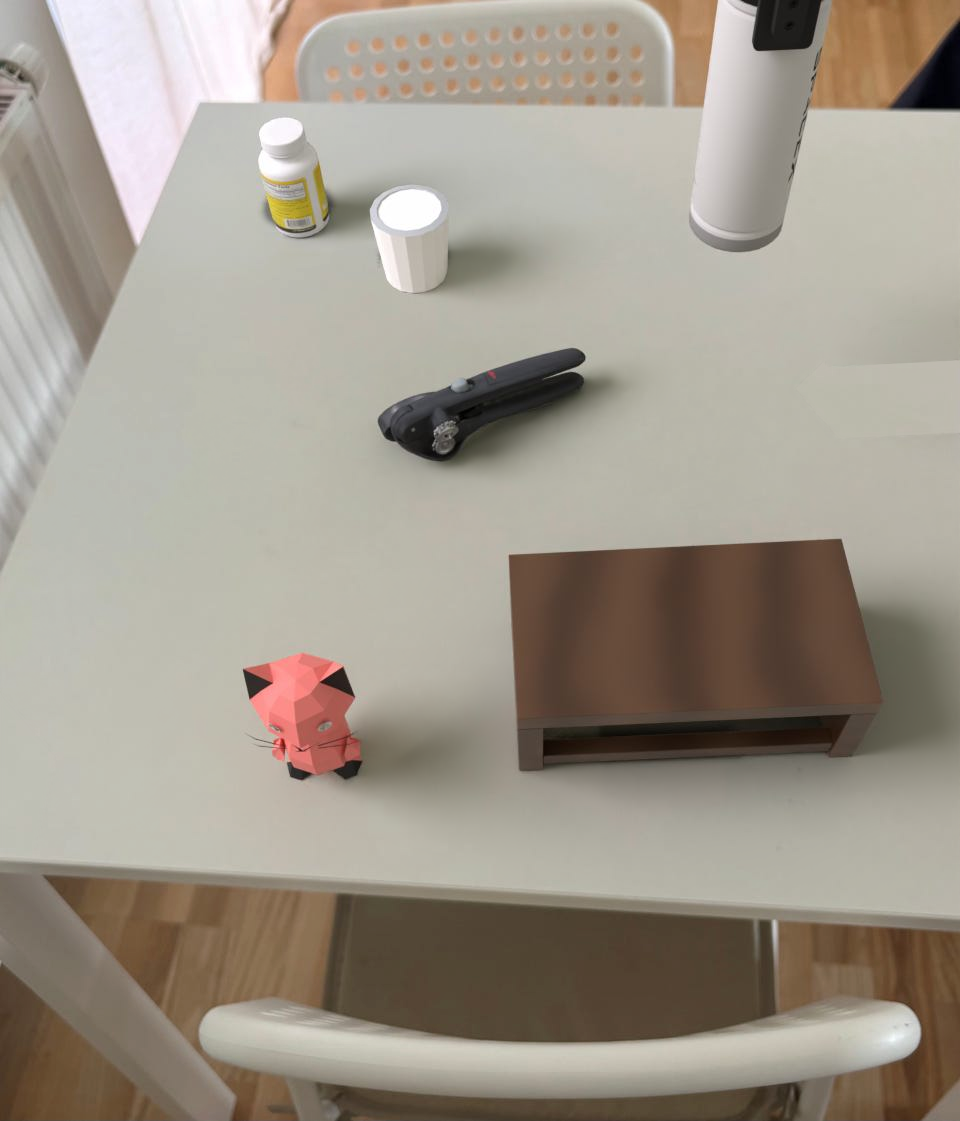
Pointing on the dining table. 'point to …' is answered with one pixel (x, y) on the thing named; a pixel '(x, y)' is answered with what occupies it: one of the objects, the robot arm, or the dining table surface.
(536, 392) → the can opener
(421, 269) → the shot glass
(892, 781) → the dining table surface
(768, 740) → the shelf
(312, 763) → the cat figurine
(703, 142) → the travel mug
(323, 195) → the supplement bottle
